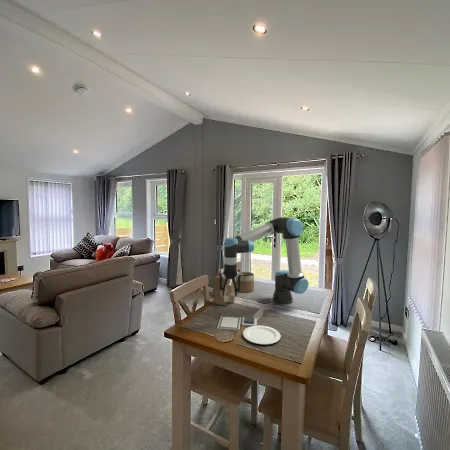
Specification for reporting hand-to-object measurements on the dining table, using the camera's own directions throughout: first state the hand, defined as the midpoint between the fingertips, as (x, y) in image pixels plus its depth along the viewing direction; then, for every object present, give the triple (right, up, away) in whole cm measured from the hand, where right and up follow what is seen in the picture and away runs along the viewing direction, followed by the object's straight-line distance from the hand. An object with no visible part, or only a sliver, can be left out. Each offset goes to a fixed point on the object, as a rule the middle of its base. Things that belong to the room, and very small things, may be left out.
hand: (229, 301), depth 160 cm
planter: (+14, -9, +65) cm, 67 cm away
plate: (+17, -16, -14) cm, 27 cm away
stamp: (0, -1, 0) cm, 1 cm away
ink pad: (+12, -14, +2) cm, 19 cm away
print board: (0, -14, +1) cm, 14 cm away
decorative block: (-5, -12, +33) cm, 35 cm away
